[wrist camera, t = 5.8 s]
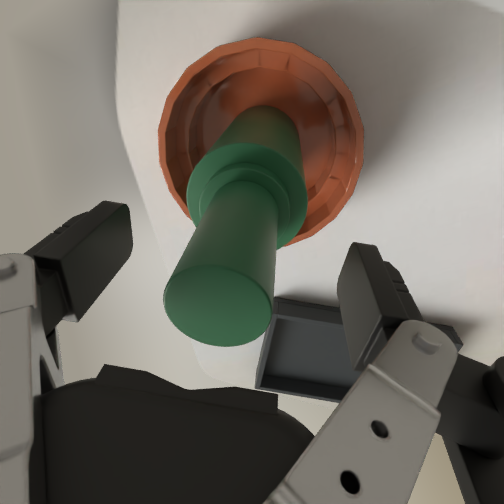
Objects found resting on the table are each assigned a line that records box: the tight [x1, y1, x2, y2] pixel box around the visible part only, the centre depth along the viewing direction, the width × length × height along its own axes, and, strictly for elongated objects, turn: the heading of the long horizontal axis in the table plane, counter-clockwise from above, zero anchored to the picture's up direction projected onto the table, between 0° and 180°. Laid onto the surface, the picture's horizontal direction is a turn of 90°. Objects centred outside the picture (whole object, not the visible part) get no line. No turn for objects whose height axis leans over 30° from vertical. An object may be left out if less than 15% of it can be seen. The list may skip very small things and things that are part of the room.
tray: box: [255, 297, 463, 403], centre depth 34 cm, size 19×13×2 cm
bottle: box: [163, 105, 308, 347], centre depth 16 cm, size 6×6×18 cm
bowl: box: [158, 37, 364, 247], centre depth 21 cm, size 13×13×5 cm
